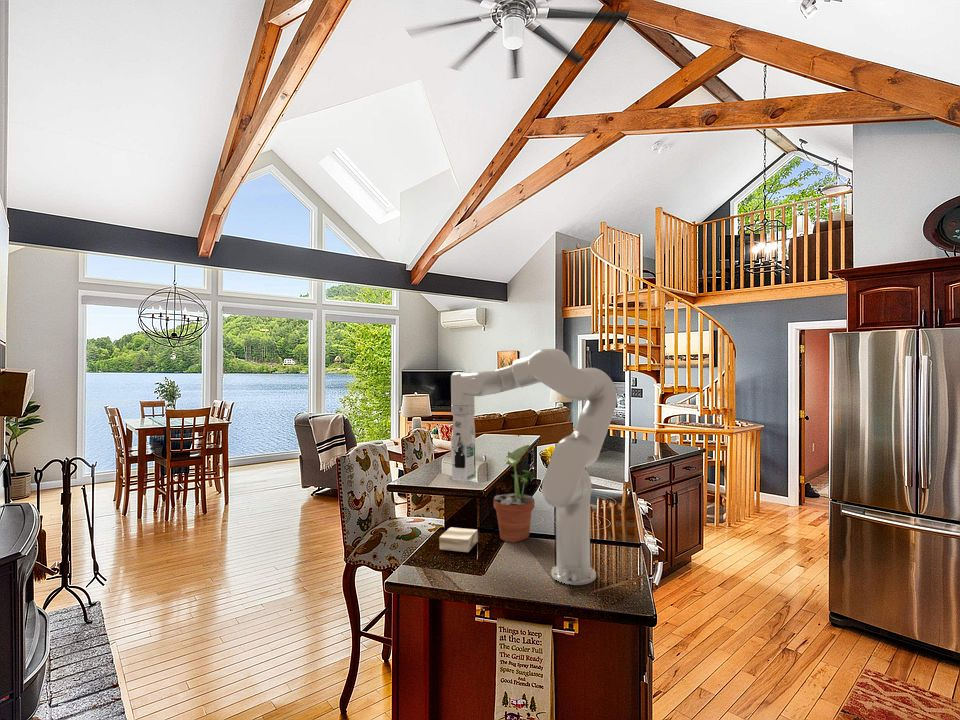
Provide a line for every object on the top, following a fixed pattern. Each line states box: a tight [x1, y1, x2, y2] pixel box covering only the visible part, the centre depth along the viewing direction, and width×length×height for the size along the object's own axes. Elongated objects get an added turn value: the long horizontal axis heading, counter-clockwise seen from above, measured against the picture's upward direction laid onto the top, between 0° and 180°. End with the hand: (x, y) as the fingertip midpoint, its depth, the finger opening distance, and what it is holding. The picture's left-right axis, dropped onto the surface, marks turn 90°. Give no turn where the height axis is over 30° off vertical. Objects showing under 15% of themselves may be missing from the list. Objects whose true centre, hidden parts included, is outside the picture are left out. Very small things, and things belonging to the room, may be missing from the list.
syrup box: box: [450, 434, 477, 483], centre depth 169 cm, size 6×6×14 cm
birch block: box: [438, 526, 479, 553], centre depth 175 cm, size 10×10×4 cm
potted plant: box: [493, 444, 535, 543], centre depth 182 cm, size 16×15×35 cm
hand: (463, 464), depth 169 cm, fingers closed on syrup box, 6 cm apart
